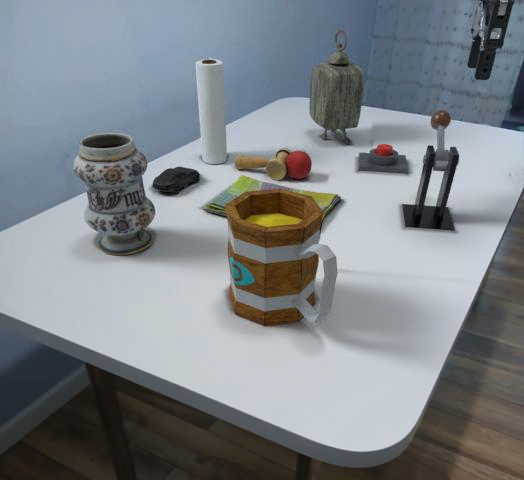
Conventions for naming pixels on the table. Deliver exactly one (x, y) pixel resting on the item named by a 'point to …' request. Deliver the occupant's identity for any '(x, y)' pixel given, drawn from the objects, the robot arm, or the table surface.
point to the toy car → (175, 179)
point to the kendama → (279, 164)
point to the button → (384, 150)
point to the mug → (277, 257)
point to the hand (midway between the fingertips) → (477, 73)
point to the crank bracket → (440, 213)
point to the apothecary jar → (115, 192)
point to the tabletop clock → (336, 92)
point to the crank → (440, 139)
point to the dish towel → (250, 184)
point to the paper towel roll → (211, 110)
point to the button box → (382, 162)
